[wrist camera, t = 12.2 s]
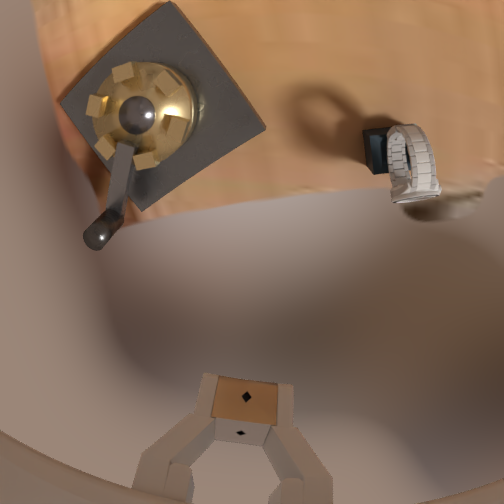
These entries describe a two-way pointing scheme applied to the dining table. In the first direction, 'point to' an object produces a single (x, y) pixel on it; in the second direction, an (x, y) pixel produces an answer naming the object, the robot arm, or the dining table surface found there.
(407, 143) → the watch
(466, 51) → the dining table surface
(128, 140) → the ball knob lever
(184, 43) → the plate
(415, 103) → the dining table surface
